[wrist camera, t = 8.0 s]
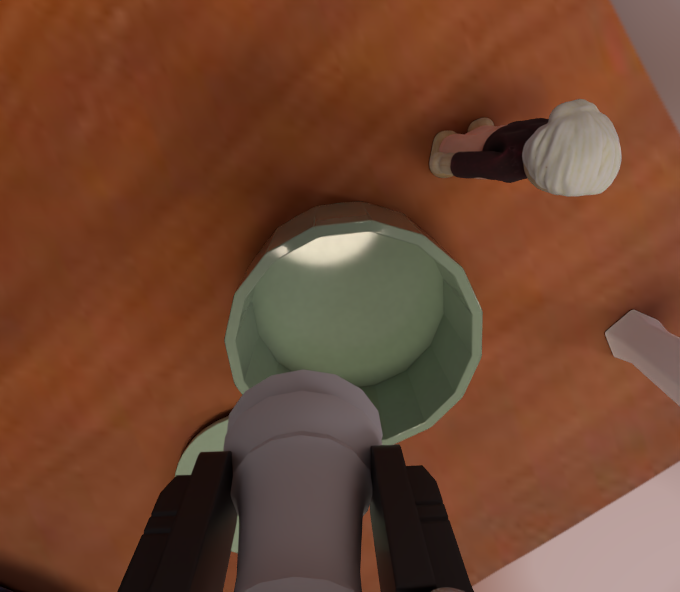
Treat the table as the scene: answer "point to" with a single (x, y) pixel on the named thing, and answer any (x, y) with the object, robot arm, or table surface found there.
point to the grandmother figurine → (536, 151)
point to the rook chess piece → (301, 482)
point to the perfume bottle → (648, 350)
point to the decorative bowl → (4, 590)
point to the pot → (360, 313)
